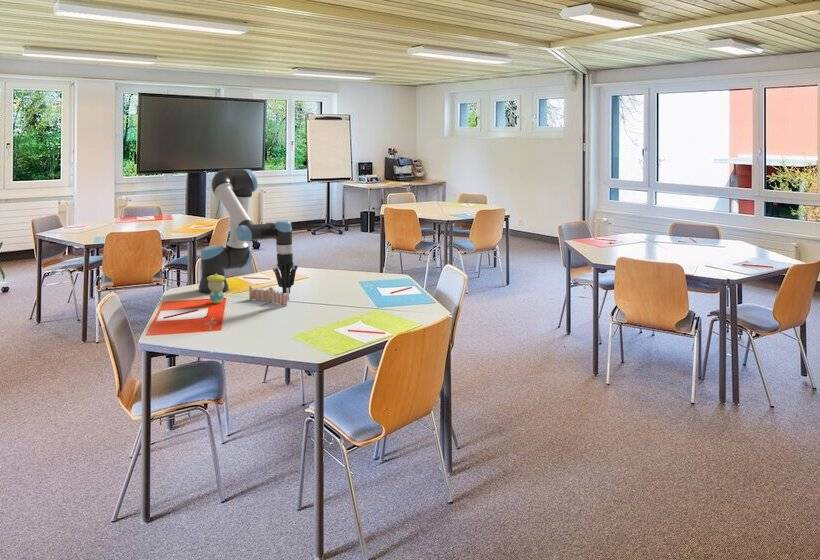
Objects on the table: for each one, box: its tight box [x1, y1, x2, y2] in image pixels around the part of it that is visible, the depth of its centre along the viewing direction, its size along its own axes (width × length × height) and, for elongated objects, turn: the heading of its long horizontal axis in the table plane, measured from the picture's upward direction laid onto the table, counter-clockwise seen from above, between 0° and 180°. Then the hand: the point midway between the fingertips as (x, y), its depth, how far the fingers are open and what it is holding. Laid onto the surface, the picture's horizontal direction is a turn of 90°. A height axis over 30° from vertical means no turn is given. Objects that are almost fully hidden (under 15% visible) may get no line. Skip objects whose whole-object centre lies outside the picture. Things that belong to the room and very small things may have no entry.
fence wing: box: [273, 289, 288, 307], centre depth 325 cm, size 10×1×6 cm, turn 47°
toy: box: [207, 274, 226, 305], centre depth 325 cm, size 8×9×15 cm
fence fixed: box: [248, 285, 275, 303], centre depth 332 cm, size 14×2×8 cm, turn 70°
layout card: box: [242, 299, 293, 310], centre depth 327 cm, size 20×14×1 cm
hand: (286, 300), depth 326 cm, fingers closed
